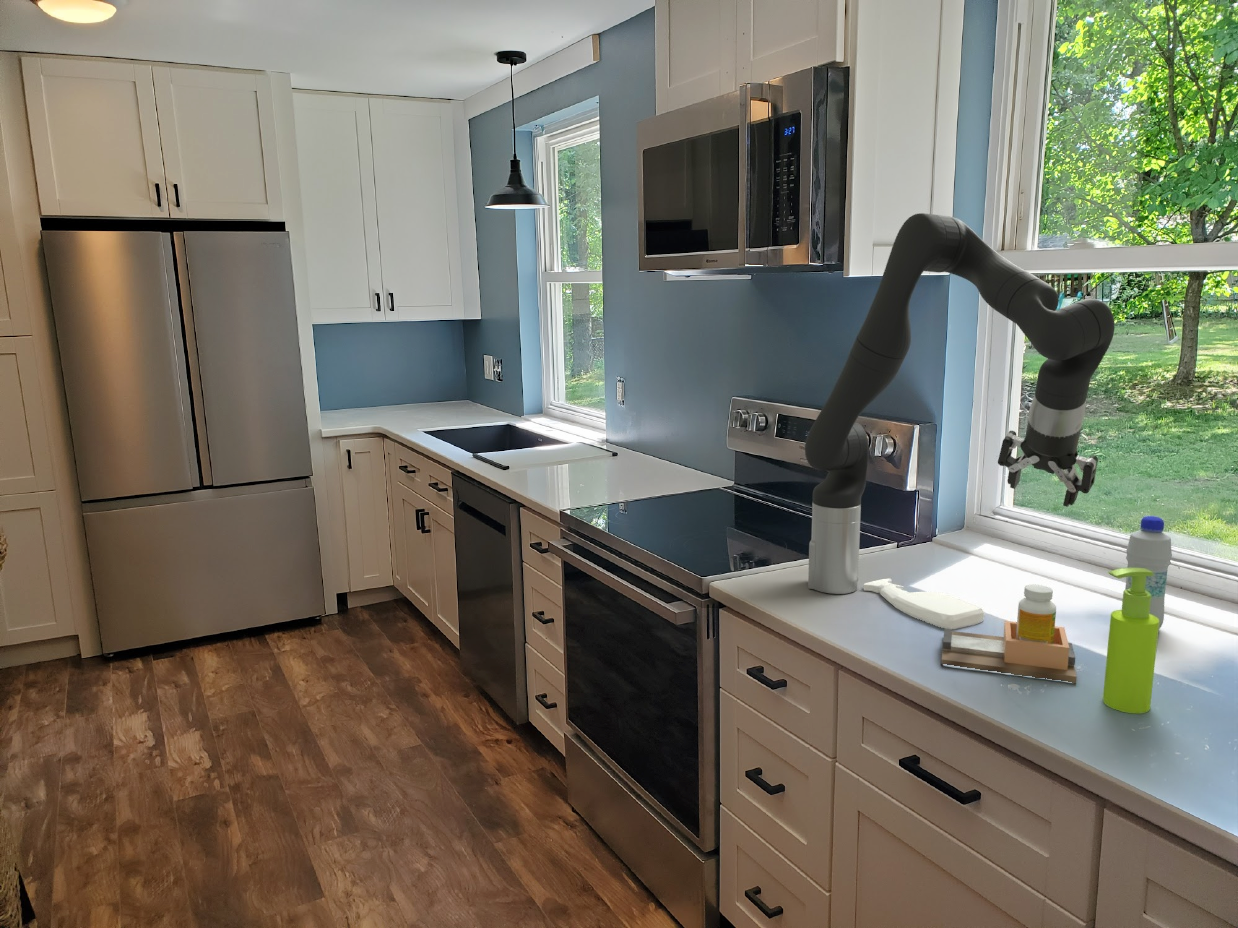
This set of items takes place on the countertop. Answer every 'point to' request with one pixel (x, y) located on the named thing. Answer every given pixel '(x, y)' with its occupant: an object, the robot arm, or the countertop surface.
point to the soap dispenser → (1131, 647)
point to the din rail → (983, 646)
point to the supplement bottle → (1036, 615)
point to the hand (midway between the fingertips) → (1040, 494)
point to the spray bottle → (929, 605)
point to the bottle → (1151, 560)
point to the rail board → (1003, 663)
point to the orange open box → (1036, 649)
